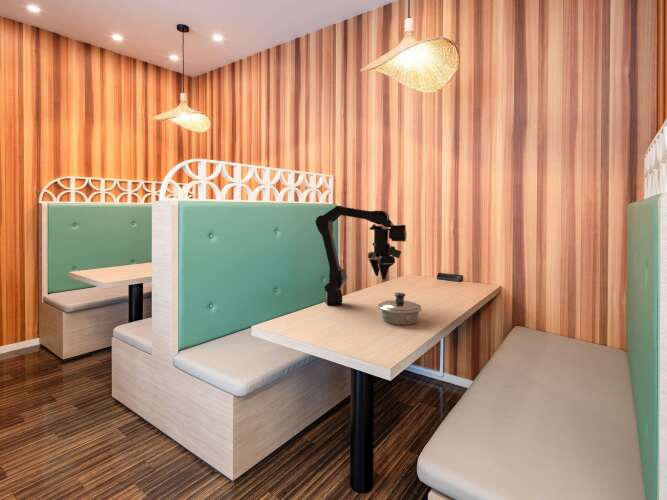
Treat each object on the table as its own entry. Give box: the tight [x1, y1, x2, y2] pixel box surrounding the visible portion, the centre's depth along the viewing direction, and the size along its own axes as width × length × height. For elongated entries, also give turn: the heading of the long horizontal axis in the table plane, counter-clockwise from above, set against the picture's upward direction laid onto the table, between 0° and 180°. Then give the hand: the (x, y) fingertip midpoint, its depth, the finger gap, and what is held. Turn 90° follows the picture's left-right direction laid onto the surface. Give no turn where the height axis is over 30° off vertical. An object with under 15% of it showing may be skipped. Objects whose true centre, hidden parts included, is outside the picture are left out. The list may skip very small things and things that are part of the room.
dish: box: [381, 310, 420, 326], centre depth 141 cm, size 14×14×5 cm
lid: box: [377, 292, 422, 314], centre depth 141 cm, size 16×16×5 cm
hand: (380, 277), depth 158 cm, fingers open, 9 cm apart
